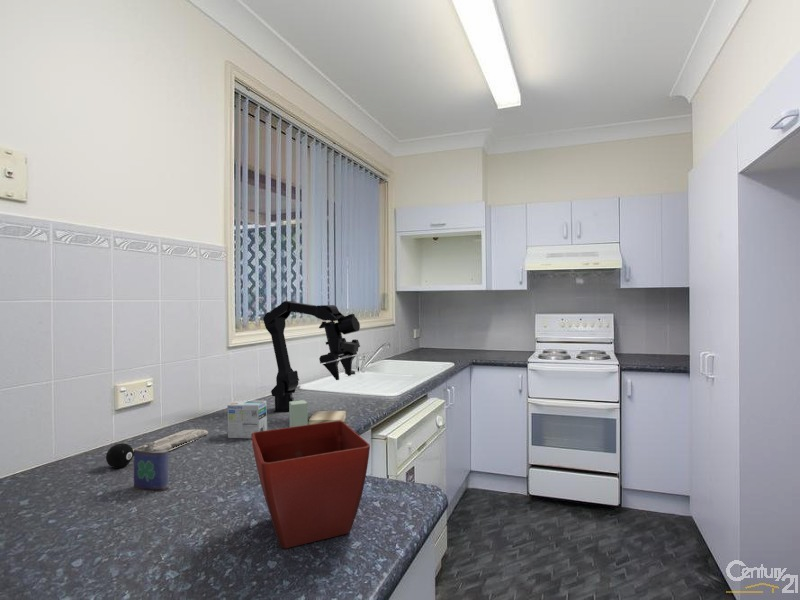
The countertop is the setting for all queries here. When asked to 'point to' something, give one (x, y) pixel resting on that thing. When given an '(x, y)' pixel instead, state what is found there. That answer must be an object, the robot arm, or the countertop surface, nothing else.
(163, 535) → the countertop surface
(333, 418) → the slab
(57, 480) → the countertop surface
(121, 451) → the billiard ball
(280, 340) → the robot arm
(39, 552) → the countertop surface
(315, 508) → the plant pot
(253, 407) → the light bulb box
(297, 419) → the tall block
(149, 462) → the flask
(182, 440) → the newspaper
